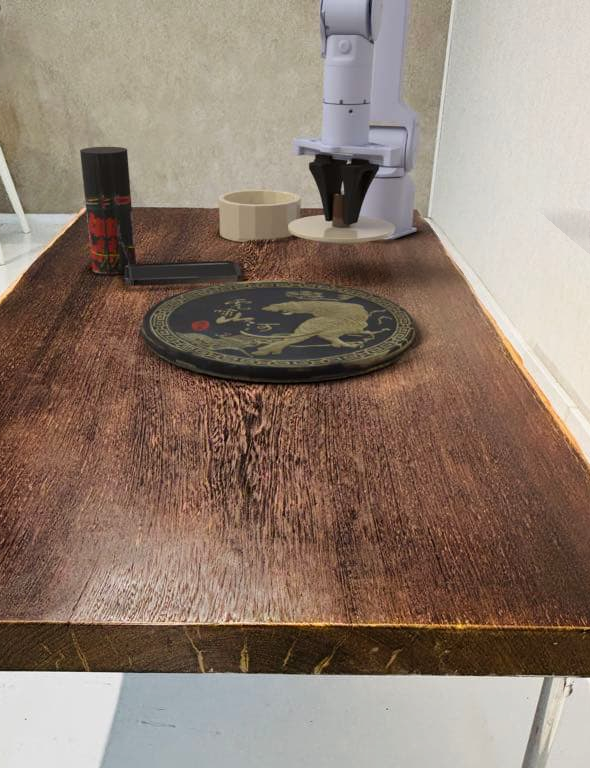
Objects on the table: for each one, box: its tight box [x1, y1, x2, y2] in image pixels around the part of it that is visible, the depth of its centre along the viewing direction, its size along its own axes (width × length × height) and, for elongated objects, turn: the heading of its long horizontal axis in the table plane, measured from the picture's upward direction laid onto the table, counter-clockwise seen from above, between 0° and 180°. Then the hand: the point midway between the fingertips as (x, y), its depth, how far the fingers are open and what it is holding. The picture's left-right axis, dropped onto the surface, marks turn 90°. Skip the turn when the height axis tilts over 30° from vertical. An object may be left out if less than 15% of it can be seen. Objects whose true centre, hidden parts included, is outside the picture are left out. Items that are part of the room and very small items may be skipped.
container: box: [217, 189, 302, 243], centre depth 134 cm, size 13×13×5 cm
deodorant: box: [79, 146, 137, 276], centre depth 113 cm, size 6×6×15 cm
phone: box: [124, 260, 243, 287], centre depth 113 cm, size 8×1×15 cm
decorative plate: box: [141, 280, 416, 384], centre depth 94 cm, size 30×2×30 cm
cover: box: [288, 190, 395, 245], centre depth 109 cm, size 14×14×5 cm
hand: (341, 221), depth 109 cm, fingers closed on cover, 2 cm apart
